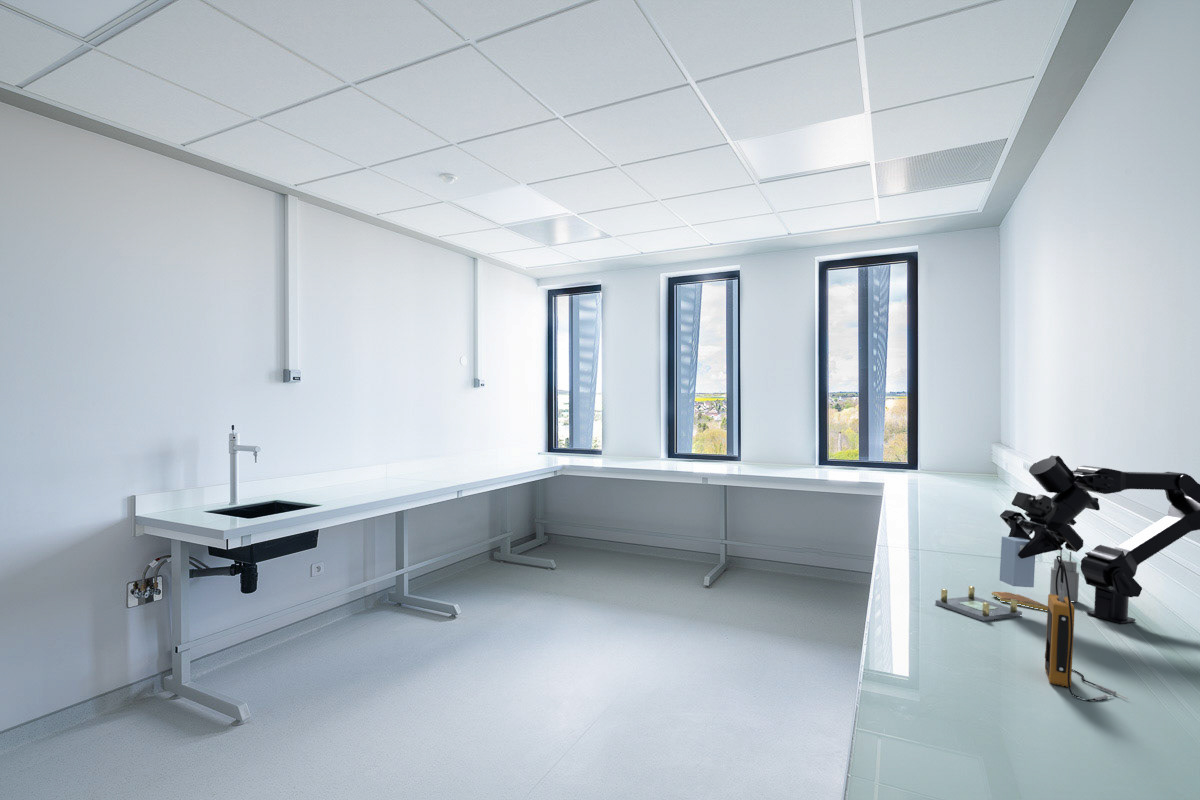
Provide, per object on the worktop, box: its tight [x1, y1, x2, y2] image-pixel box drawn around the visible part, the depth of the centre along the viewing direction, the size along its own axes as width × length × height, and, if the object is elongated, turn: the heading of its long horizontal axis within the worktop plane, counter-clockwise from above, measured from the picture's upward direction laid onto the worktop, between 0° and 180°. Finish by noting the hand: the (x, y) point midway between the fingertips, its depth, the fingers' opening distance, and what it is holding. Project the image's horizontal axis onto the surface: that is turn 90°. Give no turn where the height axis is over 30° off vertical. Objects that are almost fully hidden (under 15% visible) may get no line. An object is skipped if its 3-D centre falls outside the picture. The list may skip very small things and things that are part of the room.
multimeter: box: [1044, 555, 1129, 701], centre depth 95 cm, size 15×10×20 cm
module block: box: [999, 536, 1036, 588], centre depth 132 cm, size 4×5×10 cm
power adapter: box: [1049, 549, 1080, 603], centre depth 145 cm, size 3×5×12 cm, turn 51°
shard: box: [991, 591, 1048, 611], centre depth 138 cm, size 11×8×2 cm
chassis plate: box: [935, 585, 1023, 622], centre depth 132 cm, size 13×11×4 cm
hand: (1011, 554), depth 132 cm, fingers closed on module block, 5 cm apart
